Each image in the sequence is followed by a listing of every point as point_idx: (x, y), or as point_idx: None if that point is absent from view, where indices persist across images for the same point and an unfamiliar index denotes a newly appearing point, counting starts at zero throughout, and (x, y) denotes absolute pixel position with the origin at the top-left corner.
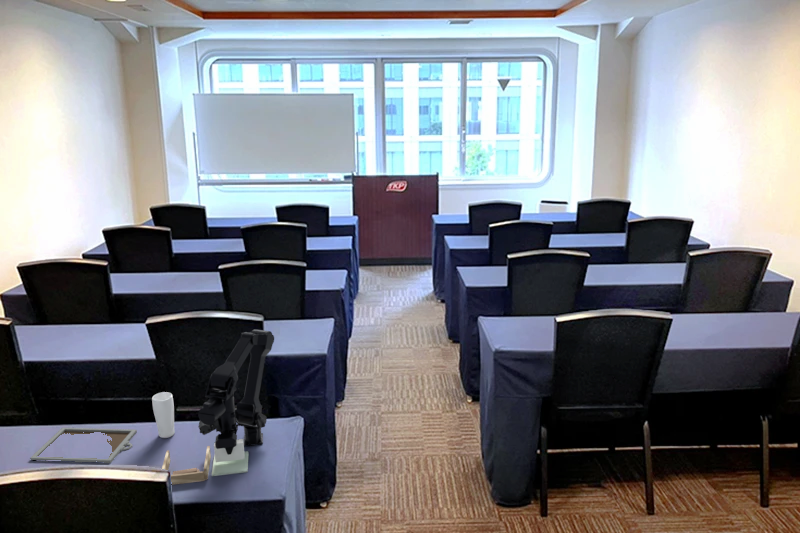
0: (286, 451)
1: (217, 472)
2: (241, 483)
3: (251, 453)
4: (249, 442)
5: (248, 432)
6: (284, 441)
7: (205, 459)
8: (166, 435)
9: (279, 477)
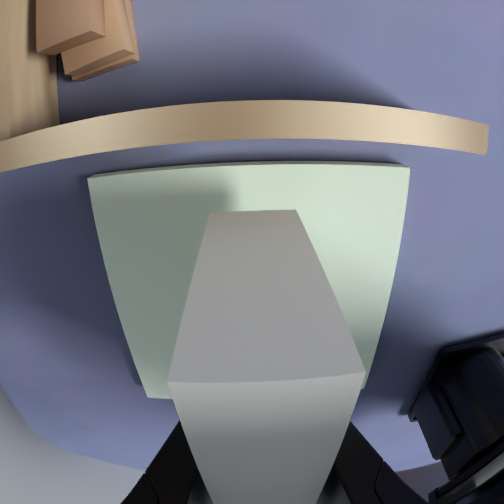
0: None
1: (115, 223)
2: (50, 358)
3: None
4: (429, 394)
5: (464, 439)
6: None
7: (157, 112)
8: None
9: (122, 461)
